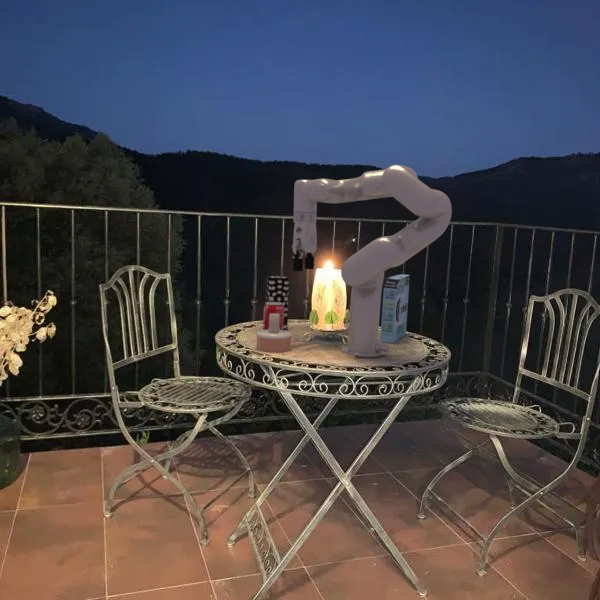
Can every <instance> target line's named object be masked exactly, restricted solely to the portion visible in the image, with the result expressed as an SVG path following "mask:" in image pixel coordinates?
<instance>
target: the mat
mask: <svg viewBox="0 0 600 600" xmlns="http://www.w3.org/2000/svg"><path fill="white" fill-rule="evenodd" d="M320 346H322V344H316V343H311V342H310V343H309V342H304V341H303V342H302V341H291V346H290V349H297V350H303V351H310V350H313V349H315V348H317V347H320Z"/></svg>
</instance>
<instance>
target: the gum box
mask: <svg viewBox="0 0 600 600" xmlns="http://www.w3.org/2000/svg"><path fill="white" fill-rule="evenodd" d="M410 275H411V274H403V273H401V274H399V273H398V274H395V275H392V276H388V277H384V279H383V295H382V296H383V297H382V309H381V311H382V313H381V324H380V325H381V326H380V339H379V340H381V343H386V344H394V343H395V342H397V341H398V340H400V339H401V338H402V337H404V336H405V335H406V334H407V322H408V320H407V319H408V306H409V290H410V281H411V279H410V278H411V276H410Z"/></svg>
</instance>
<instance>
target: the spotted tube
mask: <svg viewBox="0 0 600 600" xmlns="http://www.w3.org/2000/svg"><path fill="white" fill-rule="evenodd" d="M289 290H290V277H289V276H282V275H269V276H266V301H265V303H266V302H280V303H283V307H284V331H285V330H286V331H288V320H289V296H290V295H289V292H290V291H289Z"/></svg>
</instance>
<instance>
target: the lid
mask: <svg viewBox="0 0 600 600" xmlns="http://www.w3.org/2000/svg"><path fill="white" fill-rule="evenodd" d="M279 318H280V314H278V313H270V314H269V330H263V329H260V330H257V331H256V337H257V336H258V337H260V338H266V339H286V338H290V337H291V338H292V332H291V331H288V330H286V331H284V330H279Z"/></svg>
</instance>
